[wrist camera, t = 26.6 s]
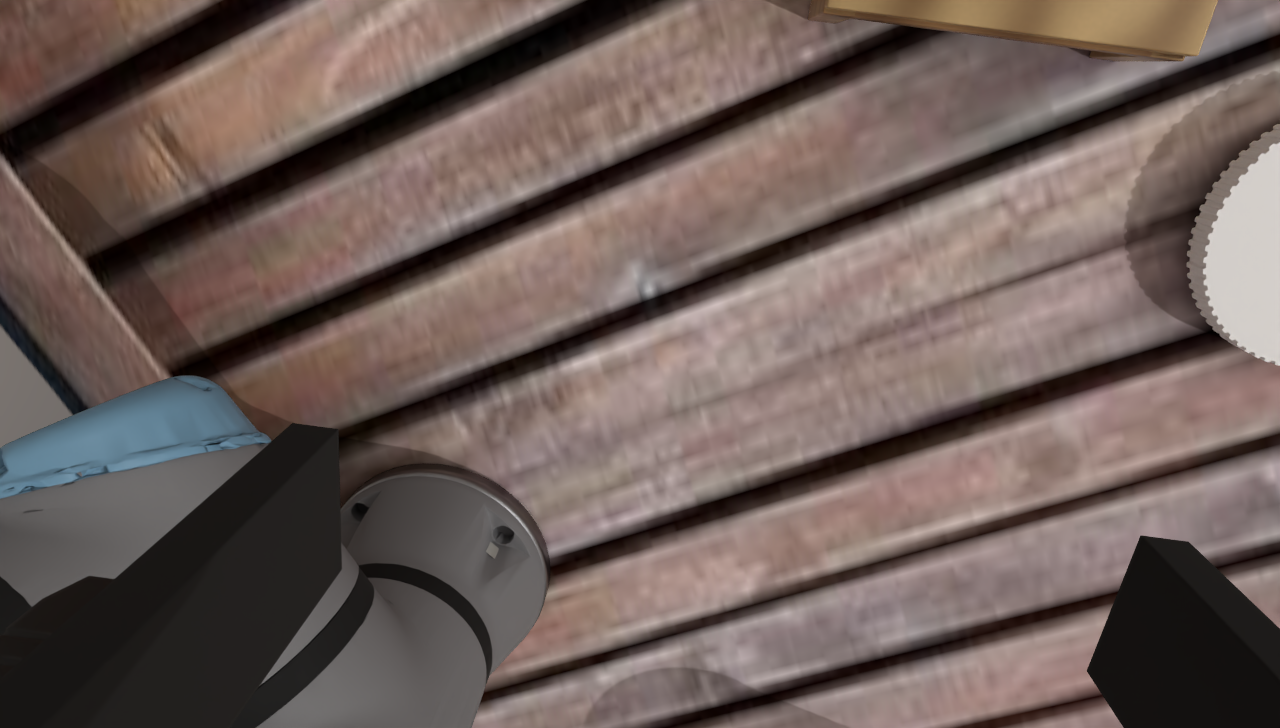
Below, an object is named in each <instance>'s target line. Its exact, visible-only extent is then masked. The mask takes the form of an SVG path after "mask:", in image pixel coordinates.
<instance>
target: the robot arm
mask: <svg viewBox="0 0 1280 728" xmlns="http://www.w3.org/2000/svg"><path fill="white" fill-rule="evenodd" d="M549 581H550V560H549V555H548V550H547V547H546V543H545V540H544V538H543V536H542V533H541V531H540V529H539V528H538V526H537V524H536V522H535V521H534V519H533V518H532V517H531V515H530V514H529V513H528V511H527V510H526V509H525V508H524V507H523V506H522V505H521V504H520V503H519V502H518V501H517V500H516V499H515V498H514V497H513V496H512V495H511V494H509V493H508V492H507V491H506V490H504V489H503V488H501V487H500V486H499V485H497V484H495V483H493V482H492V481H490V480H488V479H486V478H484V477H482V476H480V475H478V474H475V473H472V472H470V471H467V470H464V469H460V468H456V467H451V466H446V465H438V464H415V465H408V466H402V467H398V468H394V469H391V470H389V471H386V472H383V473H381V474H379V475H377V476H375V477H373V478H372V479H370V480H369V481H367V482H366V483H365V484H363V485H362V486H361V487H360V488H359V489H358V490H357V491H356V492H355V493H354V494H353V495H352V496H351V497H350V498H349V500H348V501H347V502H346V503H345V505H344V506H343V507H342V508H341V510H340V475H339V438H338V429H332V428H325V427H317V426H310V425H302V424H295V423H292V424H291V425H290V426H289V427H288V428H287V429H285V430H284V431H283V432H282V433H281V434H280V435H279V436H277V437H276V438H275V439H274V440H273V441H272V442H271V439H270V438H269V437H268V436H267V435H266V434H264V433H261V432H259V431H258V430H257V429H256V428H255V427H254V425H253V424H252V423H251V422H250V421H249V420H248V418H247V417H246V416H245V415H244V413H243V412H242V411H241V410H240V409H239V407H238V406H237V405H236V404H235V403H234V401H233V400H232V399H231V398H230V397H229V395H228V394H227V393H226V392H225V391H224V390H223V389H222V388H221V387H220V386H219V385H217V384H216V383H214V382H212V381H210V380H208V379H205V378H202V377H198V376H176V377H172V378H168V379H165V380H162V381H159V382H156V383H153V384H151V385H148V386H145V387H142V388H140V389H137V390H134V391H132V392H129V393H127V394H124V395H122V396H119V397H117V398H114V399H112V400H109V401H107V402H104V403H102V404H99V405H97V406H94V407H92V408H89V409H87V410H85V411H82V412H80V413H77V414H75V415H72V416H70V417H68V418H65V419H63V420H61V421H58V422H56V423H54V424H51V425H49V426H47V427H44V428H42V429H40V430H37V431H35V432H32V433H30V434H28V435H26V436H23V437H21V438H19V439H17V440H15V441H12V442H10V443H8V444H6V445H4V446H3V447H1V448H0V728H472V725H473V722H474V719H475V716H476V713H477V710H478V707H479V704H480V701H481V698H482V695H483V692H484V689H485V686H486V683H487V680H488V678H489V676H490V675H491V673H492V672H493V671H494V670H495V669H496V668H497V667H498V666H499V665H500V664H501V663H502V662H503V661H504V660H505V658H506V657H507V656H508V655H509V654H510V653H511V652H512V651H513V650H514V649H515V648H516V647H517V646H518V644H519V643H520V642H521V641H522V640H523V639H524V638H525V637H526V636H527V634H528V633H529V631H530V630H531V629H532V627H533V626H534V624H535V623H536V621H537V619H538V617H539V615H540V612H541V610H542V607H543V604H544V600H545V597H546V594H547V590H548V587H549ZM1087 672H1088V674H1089V675H1090V677H1091V678H1092V680H1093V681H1094V683H1095V684H1096V686H1097V687H1098V689H1099V690H1100V692H1101V693H1102V695H1103V697H1104V698H1105V700H1106V701H1107V703H1108V704H1109V706H1110V707H1111V709H1112V710H1113V712H1114V713H1115V715H1116V716H1117V718H1118V720H1119V721H1120V723H1121V724H1122V726H1123V727H1124V728H1280V629H1279V628H1278V627H1277V626H1276V625H1275V624H1274V623H1273V622H1272V621H1271V620H1270V619H1269V618H1268V617H1267V616H1266V615H1265V614H1264V613H1263V612H1262V611H1260V610H1259V609H1258V608H1257V607H1256V606H1255V605H1254V604H1253V603H1252V602H1251V601H1250V600H1249V599H1248V598H1247V597H1246V596H1245V595H1244V594H1243V593H1242V592H1241V591H1240V590H1238V589H1237V588H1236V587H1235V586H1234V585H1233V584H1232V583H1231V582H1230V581H1229V580H1228V579H1227V578H1226V577H1225V576H1224V575H1223V574H1222V573H1221V572H1220V571H1219V570H1218V569H1216V568H1215V567H1214V566H1213V565H1212V564H1211V563H1210V562H1209V561H1208V560H1207V559H1206V558H1205V557H1204V556H1203V555H1202V554H1201V553H1200V552H1199V551H1198V550H1197V549H1195V548H1194V547H1193V546H1192V545H1191V544H1190V543H1189V542H1185V541H1178V540H1170V539H1163V538H1155V537H1148V536H1140V538H1139V541H1138V544H1137V546H1136V549H1135V551H1134V554H1133V556H1132V559H1131V561H1130V564H1129V566H1128V569H1127V571H1126V574H1125V576H1124V579H1123V581H1122V584H1121V586H1120V589H1119V591H1118V594H1117V596H1116V599H1115V601H1114V604H1113V606H1112V609H1111V611H1110V614H1109V616H1108V619H1107V621H1106V624H1105V626H1104V629H1103V631H1102V634H1101V636H1100V639H1099V642H1098V644H1097V647H1096V649H1095V652H1094V654H1093V657H1092V659H1091V662H1090V664H1089V667H1088V669H1087Z"/></svg>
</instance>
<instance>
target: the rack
mask: <svg viewBox="0 0 1280 728" xmlns="http://www.w3.org/2000/svg"><path fill="white" fill-rule="evenodd" d="M1217 2H1218V0H811V4H810V9H809V14H808V20H812V21H819V22H827V23H834V24H835V23H838V22H841V21H845V20H848V19H858V20H866V21H873V22H881V23H888V24H896V25H903V26H911V27H918V28H926V29H933V30H941V31H948V32H956V33H963V34H971V35H978V36H986V37H993V38H1001V39H1008V40H1016V41H1023V42H1031V43H1038V44H1046V45H1053V46H1061V47H1068V48H1076V49H1083V50H1091V53H1090V56H1089V57H1090V58H1096V59H1103V60H1111V61H1183V60H1184V58H1185V56H1197V55H1198V54H1199V52H1200V49H1201V46H1202V43H1203V41H1204V38H1205V35H1206V32H1207V29H1208V27H1209V24H1210V21H1211V18H1212V16H1213V13H1214V10H1215V7H1216V5H1217Z"/></svg>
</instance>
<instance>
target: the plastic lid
mask: <svg viewBox="0 0 1280 728" xmlns="http://www.w3.org/2000/svg"><path fill="white" fill-rule="evenodd" d="M1249 146H1250V148H1248V149H1247V150H1242V151H1241V152H1240V153H1239V158H1238V159H1237V160H1236V161H1235V160H1232V161H1231V162H1230V163H1229V166H1230V167H1229V169H1228V170H1227V171H1223V172H1222V173H1221V174H1220V177H1221V179H1220V180H1219V181H1218V182H1214V184H1213V185H1212V187H1213V190H1212V192H1211V193H1207V195H1206V197H1205V199H1207V201H1206V202H1205V204H1203V205H1201V206H1200V208H1199V210H1200V211H1201V213H1200V215H1199V216H1196V218H1195V220H1194V221H1195V222H1196V226H1195V227H1194V228H1192V230H1191V233H1192V234H1193V238H1192V239H1190V240H1189V243H1188V245H1191V249H1190V250H1189V251H1187V256H1188V257H1190V261H1189V262H1187V267H1188V268H1190V272H1189V273H1187V277H1188V278H1189V279H1191V283H1190V284H1189V288H1190V289H1192V290H1193V291H1194V292H1193V293H1192V294H1191V295H1192V298H1194V299H1196V300H1197V302H1196V303H1195V305H1196V307H1197V308H1199V309H1201V310H1202V311H1201V312H1200V314H1201V316H1203V317H1205V318H1207V320H1206V322H1207V324H1209V325H1211V326H1213V328H1212V329H1213V330H1214V331H1215V332H1217V333H1219V334H1220V336H1221V337H1222V338H1224V339H1225V340H1227V341H1228V342H1229V343H1231V344H1232V345H1234V346H1236V347H1238V348H1240V349H1242V350H1243V351H1245V352H1247V353H1249V354H1251V355H1253V356H1255V357H1257V358H1260V359H1262V360H1264V361H1266V362H1271V363H1273V364H1275V365H1278V366H1280V124H1277V125H1275V126H1273V130H1272V131H1271V132H1264V133H1263V134H1262V135H1261V139H1260V140H1258V141H1252V142H1251V143H1250V144H1249Z"/></svg>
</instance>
